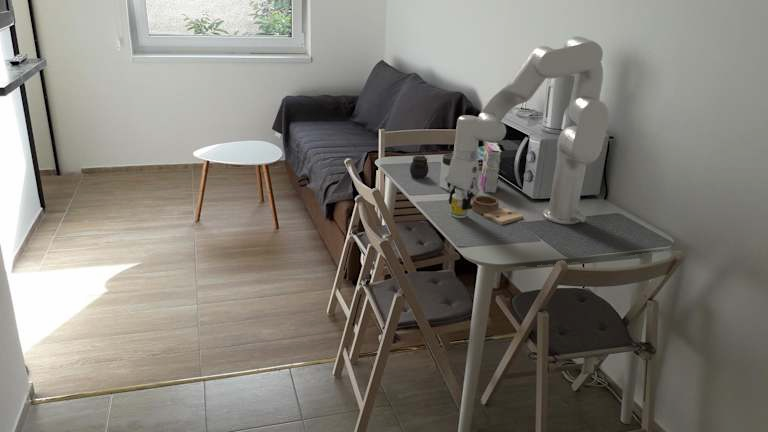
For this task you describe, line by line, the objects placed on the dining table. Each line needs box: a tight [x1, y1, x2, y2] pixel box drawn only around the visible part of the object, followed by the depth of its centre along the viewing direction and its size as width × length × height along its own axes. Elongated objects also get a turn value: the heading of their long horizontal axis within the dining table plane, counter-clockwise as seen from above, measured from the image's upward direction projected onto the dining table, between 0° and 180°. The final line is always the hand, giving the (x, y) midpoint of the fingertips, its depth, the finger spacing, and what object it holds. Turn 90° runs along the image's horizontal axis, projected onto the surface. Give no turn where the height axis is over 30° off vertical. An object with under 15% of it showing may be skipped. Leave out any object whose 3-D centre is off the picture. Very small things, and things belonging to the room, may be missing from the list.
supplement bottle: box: [450, 187, 468, 219], centre depth 213 cm, size 5×5×10 cm
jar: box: [438, 152, 454, 191], centre depth 238 cm, size 9×8×12 cm
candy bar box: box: [480, 141, 502, 194], centre depth 239 cm, size 11×5×16 cm, turn 179°
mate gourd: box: [409, 150, 429, 179], centre depth 248 cm, size 7×8×10 cm
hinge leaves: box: [470, 194, 524, 226], centre depth 220 cm, size 25×11×4 cm, turn 39°
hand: (459, 205), depth 213 cm, fingers closed on supplement bottle, 5 cm apart
